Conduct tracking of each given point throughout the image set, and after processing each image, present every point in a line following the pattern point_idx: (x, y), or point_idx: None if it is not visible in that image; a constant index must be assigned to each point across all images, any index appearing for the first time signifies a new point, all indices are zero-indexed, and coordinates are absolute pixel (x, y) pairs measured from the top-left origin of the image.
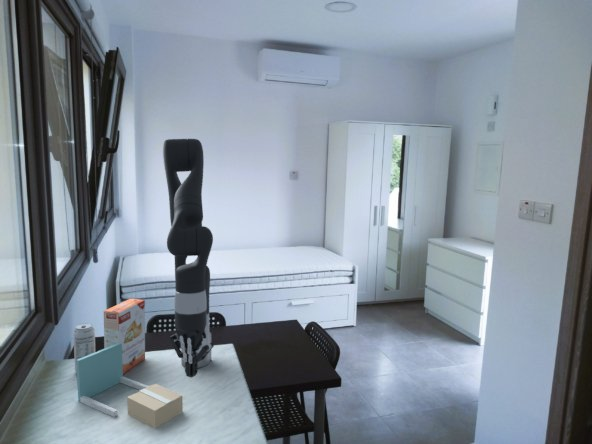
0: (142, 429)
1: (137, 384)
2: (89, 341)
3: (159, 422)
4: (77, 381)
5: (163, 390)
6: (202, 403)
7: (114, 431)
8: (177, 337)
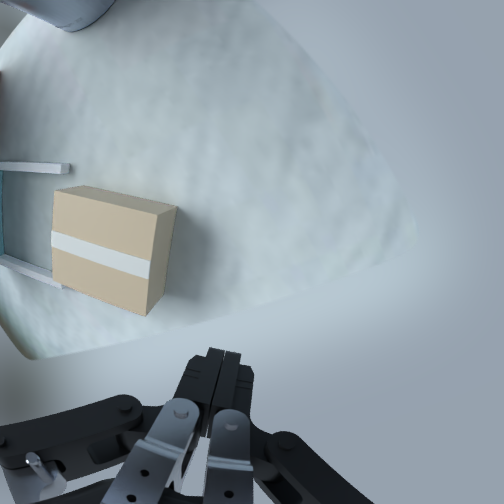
0: None
1: (25, 171)
2: None
3: (162, 286)
4: None
5: (92, 214)
6: (206, 143)
7: (105, 324)
8: (49, 497)
